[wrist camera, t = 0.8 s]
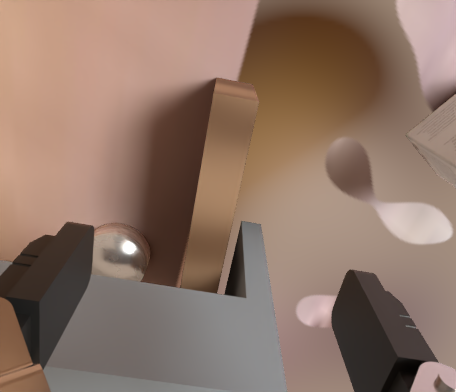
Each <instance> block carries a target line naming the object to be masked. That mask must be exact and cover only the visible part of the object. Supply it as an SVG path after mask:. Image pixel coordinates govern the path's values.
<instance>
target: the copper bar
mask: <svg viewBox="0 0 456 392" xmlns="http://www.w3.org/2000/svg"><path fill="white" fill-rule="evenodd" d="M258 105H259V100H258V97H257V95H256V92H255V89H254V87H253V84H249V83H244V82H239V81H232V80H226V79H221V78H216V83H215V88H214V93H213V99H212V105H211V111H210V117H209V123H208V128H207V134H206V140H205V146H204V152H203V158H202V164H201V169H200V175H199V181H198V187H197V193H196V199H195V205H194V210H193V216H192V222H191V228H190V234H189V240H188V245H187V251H186V257H185V263H184V269H183V275H182V281H181V287H180V288H183V289H190V290H196V291H203V292H209V293H216V294H217V290H218V286H219V281H220V277H221V273H222V268H223V264H224V259H225V254H226V250H227V245H228V241H229V236H230V231H231V227H232V223H233V218H234V213H235V209H236V205H237V200H238V195H239V191H240V186H241V182H242V177H243V173H244V168H245V164H246V159H247V155H248V150H249V145H250V141H251V136H252V132H253V127H254V123H255V118H256V114H257V109H258Z"/></svg>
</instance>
